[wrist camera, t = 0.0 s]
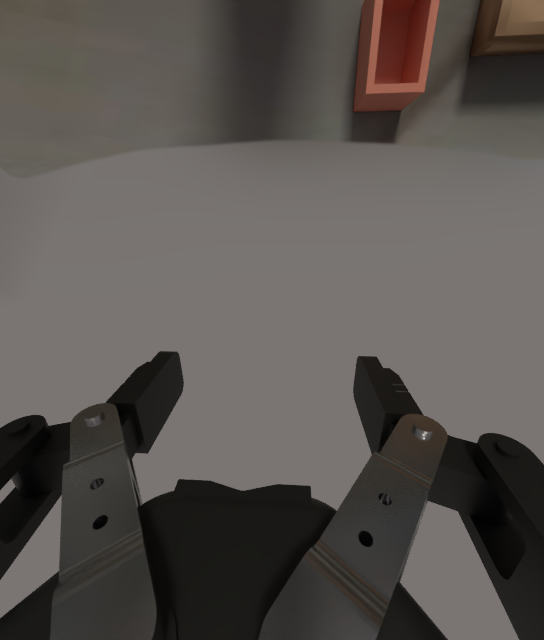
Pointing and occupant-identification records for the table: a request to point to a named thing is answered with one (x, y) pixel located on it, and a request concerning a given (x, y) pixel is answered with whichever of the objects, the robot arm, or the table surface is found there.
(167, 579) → the robot arm
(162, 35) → the table surface
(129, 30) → the table surface
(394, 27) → the red open box
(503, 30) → the wooden crate
